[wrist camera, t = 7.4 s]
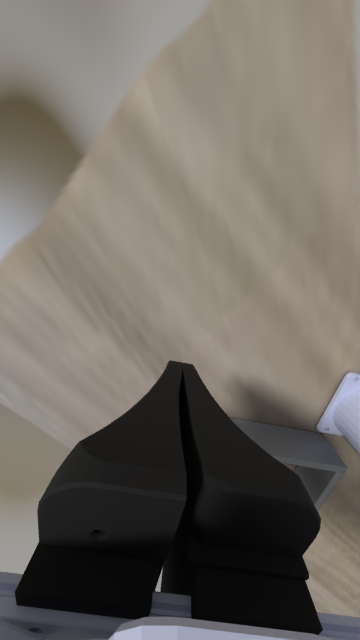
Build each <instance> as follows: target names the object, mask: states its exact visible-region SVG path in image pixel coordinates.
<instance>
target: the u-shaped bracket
mask: <svg viewBox="0 0 360 640" xmlns="http://www.w3.org/2000/svg"><path fill="white" fill-rule="evenodd" d="M229 418H230V417H229ZM230 419H231V420H232V421H233V422H234V423H235V424H236V425H237V426H238V427H239V428H240V429H241V430H242V431H243V432H244V433H245V434H246V435H247V436H248V437H250V438H251V439H252V440H253V441H254V442H255V443H256V444H258V445H259V446H260V447H261V448H262V449H264V450H265V451H266V452H267V453H268V454H270V455H271V456H272V457H274V458H275V459H276V460H278V461H279V462H281V463H286V464H292V465H297V467H296V468H295V470H294V473H296V474H297V475H298V476H299V477H300V478H301V480H302V482H303V484H304V486H305V487H306V489H307V491H308V493H309V495H310V497H311V499H312V501H313V503H314V505H315V507H316V509H317V511H318V510H319V508H320V507H321V505H322V504H323V503H324V501H325V500H326V498H327V497H328V495H329V494H330V492H331V491H332V490H333V488H334V487H335V485H336V484H337V482H338V481H339V479H340V478H341V477H342V475H343V474H344V472H345V471H346V469H347V466H346V465H345V464H344V462H343V461H342V460H341V458H340V457H339V455H338V454H337V453H336V451H335V450H334V449H333V447H332V446H331V445H330V443H329V442H328V441H327V439H326V438H325V437H324V435H323V434H322V433H316V432H310V431H305V430H299V429H293V428H287V427H282V426H276V425H270V424H265V423H259V422H253V421H247V420H242V419H236V418H230Z"/></svg>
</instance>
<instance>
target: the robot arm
mask: <svg viewBox="0 0 360 640" xmlns="http://www.w3.org/2000/svg"><path fill="white" fill-rule="evenodd" d="M316 428H317V430H318V431H319V432H324V433H329V434H335V435H341V436H344V437H345V438H346V439H347V440H348V441H349V443H350V444H351V445H352V446H353V447H354V449H355V450H356V451H357V452H358V453H359V454H360V374H357V373H352V372H350V373H347V374H346V375H345V377H344V378H343V380H342V382H341V384H340V385H339V387H338V389H337V391H336V393H335V394H334V396H333V398H332V400H331V401H330V403H329V405H328V407H327V408H326V410H325V412H324V414H323V416H322V417H321V419H320V421H319V423H318V424H317V427H316ZM37 512H38V529H39V543H38V545H37V547H36V549H35V552H34V554H33V556H32V558H31V560H30V562H29V564H28V566H27V568H26V570H25V572H24V574H15V573H8V572H0V640H360V618H358V617H351V616H343V615H335V614H327V613H319V612H316V609H315V606H314V604H313V601H312V598H311V595H310V593H309V590H308V587H307V584H306V582H305V580H307V579H308V578H309V573H308V570H307V567H306V565H305V562H304V560H303V557H302V555H303V554H304V553H305V551H306V550H307V549H308V547H309V546H310V545H311V543H312V542H313V541H314V539H315V538H316V536H317V534H318V532H319V530H320V524H321V518H320V516H319V514H318V511H317V509H316V507H315V505H314V503H313V501H312V499H311V497H310V495H309V493H308V491H307V489H306V487H305V486H304V484H303V482H302V480H301V478H300V477H299V476H298V475H297V474H296V473H294V472H293V471H292V470H290V469H289V468H287V467H286V466H285V465H283V464H282V463H281V462H279V461H278V460H276V459H275V458H274V457H272V456H271V455H270V454H268V453H267V452H266V451H265V450H264V449H262V448H261V447H260V446H259V445H258V444H256V443H255V442H254V441H253V440H252V439H251V438H250V437H248V436H247V435H246V434H245V433H244V432H243V431H242V430H241V429H240V428H239V427H238V426H237V425H236V424H235V423H234V422H233V421H232V420H231V419H230V418H229V417H228V415H227V414H226V413H225V412H224V411H223V410H222V409H221V407H220V406H219V405H218V404H217V402H216V401H215V400H214V398H213V397H212V396H211V394H210V393H209V391H208V390H207V388H206V386H205V385H204V383H203V382H202V380H201V378H200V376H199V375H198V373H197V371H196V369H195V367H194V366H193V365H192V364H187V363H181V362H176V361H169V362H168V364H167V367H166V369H165V370H164V372H163V374H162V375H161V377H160V378H159V380H158V381H157V382H156V384H155V385H154V386H153V387H152V388H151V390H150V391H149V392H148V393H147V394H146V395H145V396H144V397H143V398H142V399H141V400H140V401H139V402H138V403H137V404H135V405H134V406H133V407H132V408H131V409H130V410H128V411H127V412H126V413H125V414H123V415H122V416H121V417H119V418H118V419H116V420H115V421H113V422H112V423H110V424H109V425H107V426H106V427H104V428H103V429H101V430H99V431H98V432H96V433H94V434H92V435H90V436H89V437H87V438H85V439H83V440H82V441H80V442H78V444H77V445H76V446H75V447H74V449H73V450H72V451H71V452H70V454H69V455H68V456H67V458H66V459H65V460H64V462H63V463H62V465H61V466H60V467H59V469H58V470H57V472H56V473H55V475H54V477H53V478H52V480H51V482H50V484H49V486H48V487H47V489H46V491H45V493H44V494H43V496H42V498H41V500H40V501H39V505H38V511H37ZM162 567H163V573H162V582H161V592H156V591H155V588H156V585H157V582H158V579H159V576H160V573H161V570H162Z"/></svg>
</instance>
